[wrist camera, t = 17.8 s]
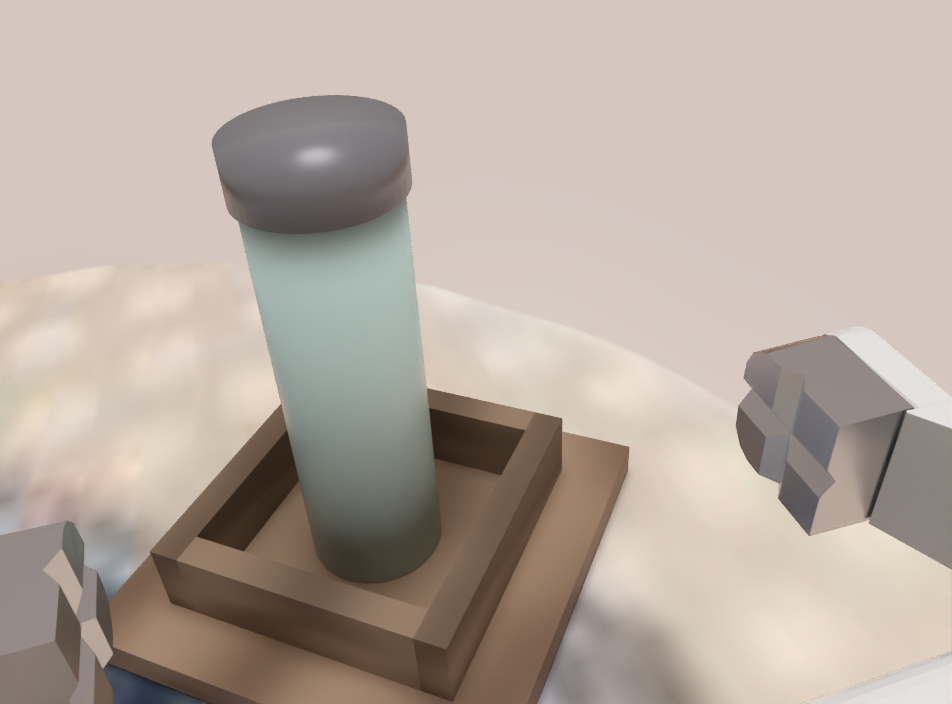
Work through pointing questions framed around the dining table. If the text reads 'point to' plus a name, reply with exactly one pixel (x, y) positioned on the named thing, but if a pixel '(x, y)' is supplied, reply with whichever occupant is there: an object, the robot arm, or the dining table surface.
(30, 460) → the dining table surface
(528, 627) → the walnut rack
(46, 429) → the dining table surface
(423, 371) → the capped tube
